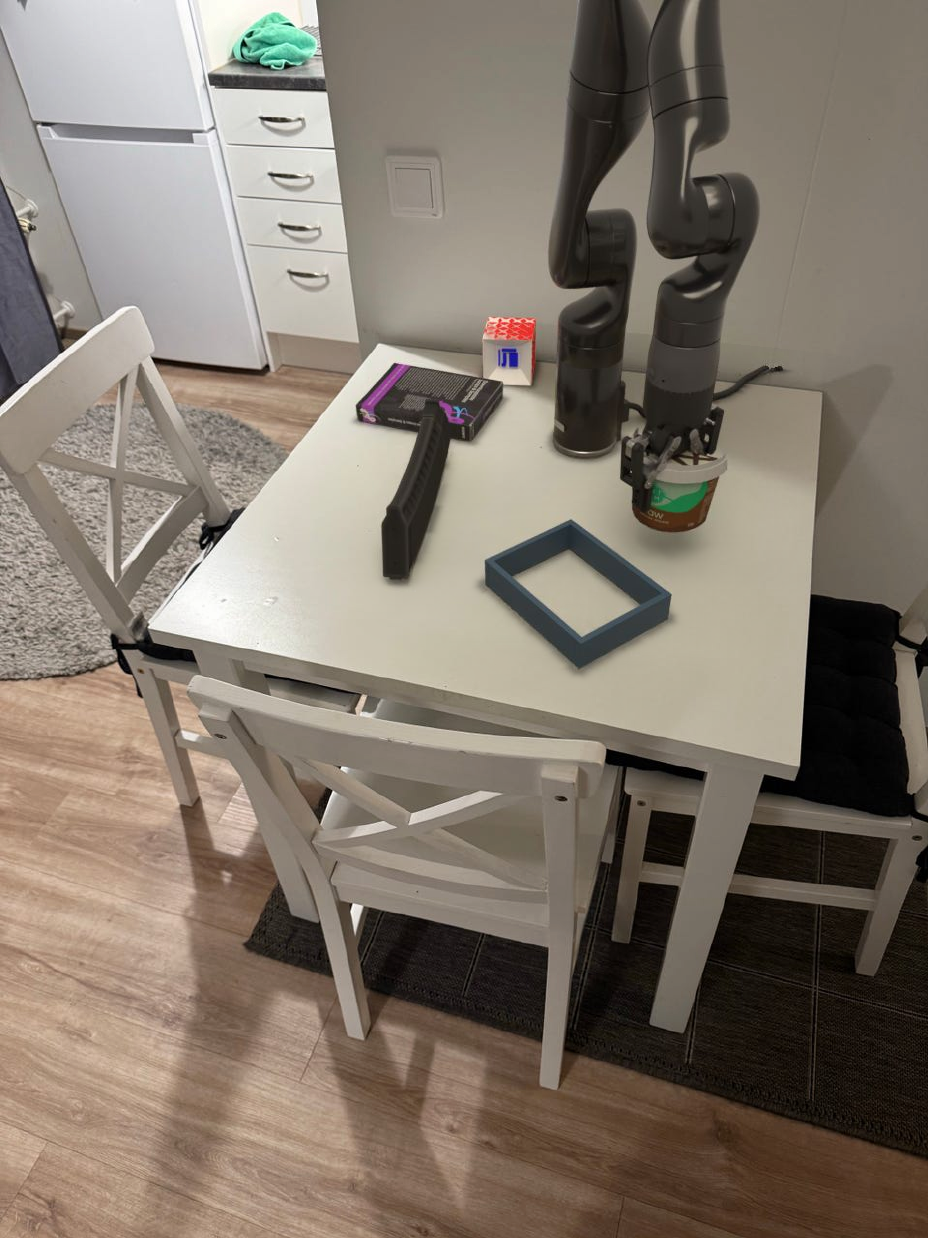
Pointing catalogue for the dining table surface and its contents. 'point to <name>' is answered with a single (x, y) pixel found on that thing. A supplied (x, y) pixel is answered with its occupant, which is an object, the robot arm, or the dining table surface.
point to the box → (410, 386)
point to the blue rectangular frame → (598, 557)
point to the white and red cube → (509, 350)
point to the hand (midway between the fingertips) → (664, 497)
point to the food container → (681, 491)
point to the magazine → (415, 494)
